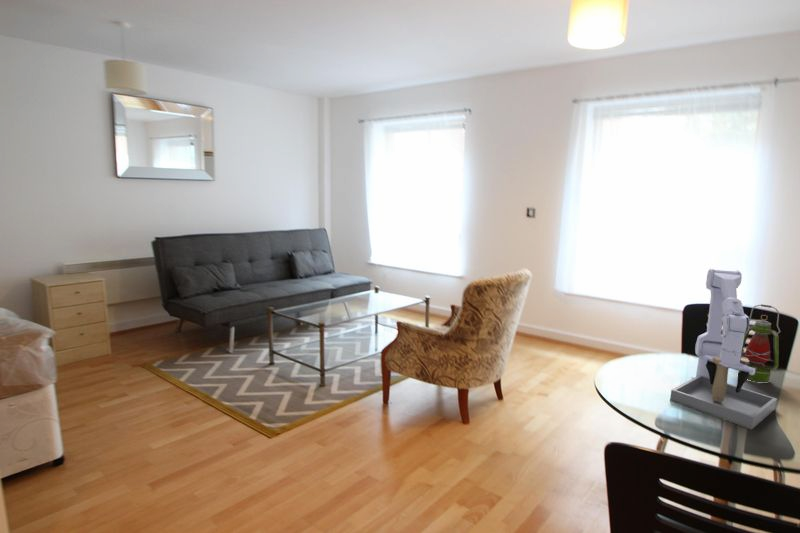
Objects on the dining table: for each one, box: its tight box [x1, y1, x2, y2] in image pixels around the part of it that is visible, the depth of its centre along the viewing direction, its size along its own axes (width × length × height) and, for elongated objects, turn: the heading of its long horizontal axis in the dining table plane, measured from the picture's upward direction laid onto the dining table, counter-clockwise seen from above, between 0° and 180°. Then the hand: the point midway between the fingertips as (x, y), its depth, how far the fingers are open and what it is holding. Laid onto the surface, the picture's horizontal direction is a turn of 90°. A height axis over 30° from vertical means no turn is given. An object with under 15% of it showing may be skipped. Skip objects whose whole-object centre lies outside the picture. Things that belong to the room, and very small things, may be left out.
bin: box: [669, 375, 778, 430], centre depth 164 cm, size 24×24×4 cm
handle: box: [712, 356, 730, 402], centre depth 164 cm, size 5×6×15 cm
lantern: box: [737, 303, 781, 382], centre depth 187 cm, size 14×11×30 cm
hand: (724, 387), depth 164 cm, fingers open, 7 cm apart
